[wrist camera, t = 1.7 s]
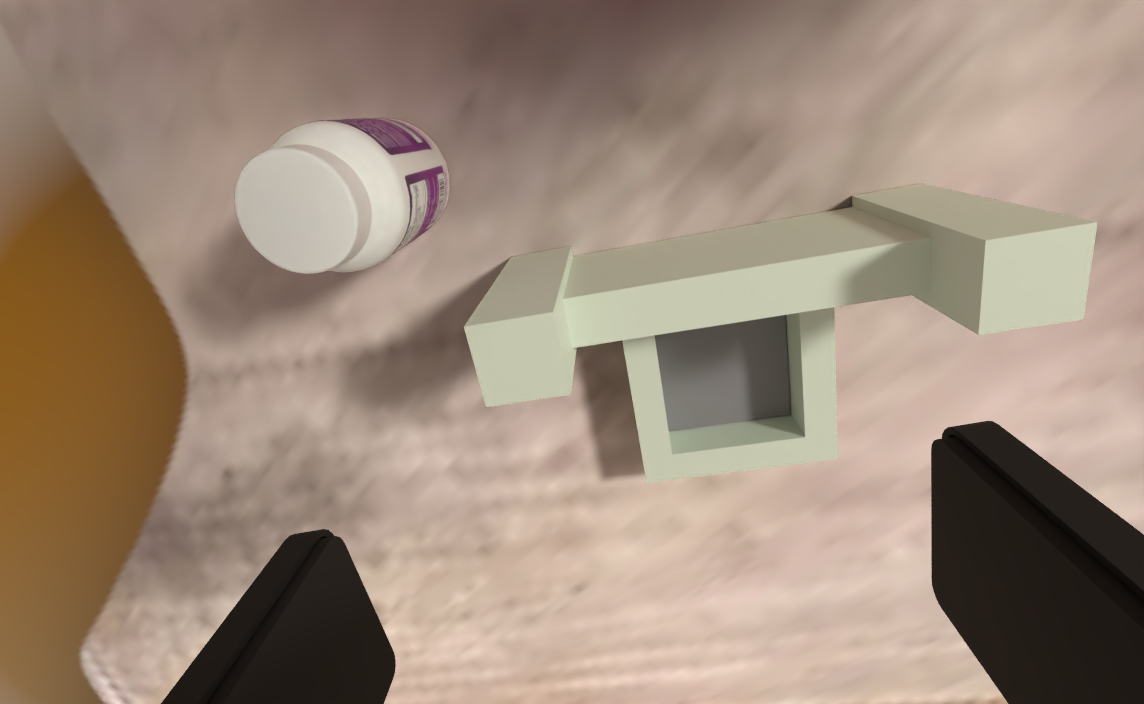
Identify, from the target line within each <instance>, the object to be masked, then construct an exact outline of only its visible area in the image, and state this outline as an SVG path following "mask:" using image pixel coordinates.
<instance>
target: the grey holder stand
mask: <svg viewBox="0 0 1144 704" xmlns="http://www.w3.org/2000/svg"><path fill="white" fill-rule="evenodd" d="M1096 229H1097V222H1095V221H1090V220H1086V219H1081V218H1077V217H1072V216H1068V215H1063V214H1059V213H1054V212H1050V211H1045V210H1041V209H1036V208H1031V207H1027V206H1022V205H1018V204H1013V203H1009V202H1004V201H1000V200H995V199H991V198H986V197H982V196H977V195H972V194H968V193H963V192H959V191H954V190H950V189H945V188H941V187H936V186H932V185H927V184H923V183H921V184H916V185H910V186H904V187H899V188H893V189H888V190H882V191H876V192H871V193H865V194H860V195H854V196H852V207H849V208H843V209H838V210H832V211H826V212H821V213H815V214H809V215H804V216H798V217H792V218H787V219H781V220H775V221H770V222H764V223H759V224H753V225H747V226H742V227H736V228H730V229H725V230H719V231H713V232H708V233H702V234H696V235H691V236H685V237H679V238H674V239H668V240H662V241H657V242H651V243H645V244H640V245H634V246H628V247H623V248H617V249H611V250H606V251H600V252H594V253H589V254H583V255H578V256H573V253H572V247H571V246H569V247H564V248H558V249H553V250H547V251H542V252H536V253H530V254H525V255H519V256H514V257H511V258H510V259H509V261H508V262H507V264H506V265H505V267H504V268H503V270H502V271H501V272H500V274H499V275H498V277H497V278H496V280H495V281H494V283H493V284H492V286H491V287H490V289H489V290H488V292H487V293H486V295H485V296H484V298H483V299H482V301H481V302H480V303H479V305H478V306H477V308H476V309H475V311H474V312H473V314H472V315H471V317H470V318H469V320H468V321H467V323H466V324H465V326H464V330H465V333H466V337H467V341H468V344H469V348H470V351H471V355H472V359H473V362H474V366H475V369H476V373H477V377H478V380H479V384H480V387H481V391H482V395H483V398H484V402H485V405H486V407H490V406H496V405H503V404H510V403H517V402H524V401H531V400H537V399H544V398H551V397H558V396H565V395H571V389H572V381H573V373H574V366H575V358H576V351H577V347H583V346H590V345H596V344H602V343H609V342H615V341H622V342H623V348H624V354H625V360H626V365H627V371H628V377H629V383H630V389H631V395H632V401H633V407H634V412H635V418H636V424H637V430H638V436H639V442H640V448H641V454H642V459H643V465H644V471H645V477H646V483H651V482H659V481H667V480H675V479H683V478H691V477H699V476H707V475H715V474H723V473H731V472H739V471H747V470H755V469H763V468H771V467H779V466H787V465H795V464H803V463H811V462H819V461H827V460H835V459H838V451H837V408H836V365H835V322H834V307H839V306H845V305H851V304H858V303H864V302H871V301H877V300H883V299H890V298H896V297H903V296H909V295H912V296H914V297H916V298H917V299H919V300H921V301H922V302H924V303H926V304H928V305H929V306H931V307H933V308H934V309H936V310H938V311H939V312H941V313H943V314H944V315H946V316H948V317H949V318H951V319H953V320H954V321H956V322H958V323H959V324H961V325H963V326H964V327H966V328H968V329H970V330H971V331H973V332H975V333H976V334H978V335H981V334H988V333H995V332H1002V331H1008V330H1015V329H1022V328H1029V327H1036V326H1043V325H1049V324H1056V323H1063V322H1070V321H1077V320H1083V318H1084V311H1085V304H1086V298H1087V291H1088V284H1089V277H1090V270H1091V263H1092V257H1093V250H1094V243H1095V236H1096Z"/></svg>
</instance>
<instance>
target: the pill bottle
mask: <svg viewBox="0 0 1144 704" xmlns="http://www.w3.org/2000/svg"><path fill="white" fill-rule="evenodd" d="M449 192H450V190H449V174H448V169H447V164H446V162H445V160H444V158H443V156H442V154H441V152H440V150H439V148H438V147H437V146H436V144H435V143H434V142H433V141H432V140H431V138H429V137H428V136H427V135H426V134H425V133H424V132H422V131H421V130H420V129H419V128H417V127H415V126H413V125H411V124H409V123H407V122H404V121H400V120H396V119H386V118H385V119H384V118H372V119H347V120H332V121H330V120H326V121H323V120H321V121H315V122H310V123H307V124H303V125H300V126H297V127H295V128H293V129H291V130H289V131H288V132H286V133H285V134H284V135H282V136H281V137H280V138H279V139H278V140H277V141H276V142H275V143H274V144H273V146H272V147H271V148H270V150H268V151H265V152H263V153H261V154H259V155H257V156H255V157H254V158H253V159H251V160H250V161H249V162H248V163H247V165H246V166H245V167H244V168H243V170H242V171H241V173H240V175H239V178H238V180H237V184H236V188H235V194H234V200H235V210H236V215H237V218H238V221H239V224H240V226H241V229H242V231H243V232H244V234H245V236H246V238H247V239H248V241H249V242H250V243H251V245H252V246H253V247H254V248H255V249H256V250H257V251H258V252H259V253H260V254H261V255H262V256H263V257H264V258H266V259H267V260H268V261H270V262H271V263H273V264H275V265H277V266H278V267H281V268H283V269H286V270H288V271H292V272H296V273H303V274H314V273H321V272H324V271H334V272H355V271H360V270H364V269H367V268H370V267H372V266H374V265H378V264H379V263H381V262H382V261H384V260H385V259H387V258H388V257H389V256H390V255H392V254H393V253H395V252H396V251H398V250H399V249H401V248H402V247H404V246H405V245H407V244H408V243H410V242H411V241H413V240H414V239H416V238H417V237H418V236H420V235H421V234H423V233H424V232H425V231H427V230H428V229H429V228H431V227H432V226H433V225H434V224H435V223H436V222H437V221H438V219H439V218H440V216H441V215H442V213H443V211H444V210H445V207H446V205H447V202H448V197H449Z"/></svg>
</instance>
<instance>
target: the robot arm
mask: <svg viewBox="0 0 1144 704" xmlns="http://www.w3.org/2000/svg"><path fill="white" fill-rule="evenodd" d="M931 482H932V586H933V590H934V593H935V596H936V598H937V601H938V603H939V605H940V606H941V608H942V610H943V611H944V612H945V614H946V615H947V617H948V618H949V619H950V621H951V622H952V624H953V625H954V627H955V628H956V629H957V631H958V632H959V634H960V635H961V637H962V638H963V639H964V641H965V642H966V644H967V645H968V647H969V648H970V649H971V651H972V652H973V654H974V655H975V656H976V658H977V659H978V661H979V662H980V664H981V665H982V666H983V668H984V669H985V671H986V672H987V674H988V675H989V676H990V678H991V679H992V681H993V682H994V684H995V685H996V686H997V688H998V689H999V691H1000V692H1001V694H1002V695H1003V696H1004V698H1005V699H1006V701H1007V702H1008V703H1009V704H1144V535H1143V534H1142V533H1141V532H1139V531H1138V530H1137V529H1135V528H1134V527H1133V526H1132V525H1130V524H1129V523H1128V522H1126V521H1125V520H1124V519H1122V518H1121V517H1120V516H1118V515H1117V514H1116V513H1114V512H1113V511H1112V510H1110V509H1109V508H1108V507H1106V506H1105V505H1104V504H1103V503H1101V502H1100V501H1099V500H1097V499H1096V498H1095V497H1093V496H1092V495H1091V494H1089V493H1088V492H1087V491H1085V490H1084V489H1083V488H1081V487H1080V486H1079V485H1077V484H1076V483H1075V482H1073V481H1072V480H1071V479H1070V478H1068V477H1067V476H1066V475H1064V474H1063V473H1062V472H1060V471H1059V470H1058V469H1056V468H1055V467H1054V466H1052V465H1051V464H1050V463H1048V462H1047V461H1046V460H1044V459H1043V458H1042V457H1040V456H1039V455H1038V454H1037V453H1035V452H1034V451H1033V450H1031V449H1030V448H1029V447H1027V446H1026V445H1025V444H1023V443H1022V442H1021V441H1019V440H1018V439H1017V438H1015V437H1014V436H1013V435H1011V434H1010V433H1009V432H1007V431H1006V430H1005V429H1004V428H1002V427H1001V426H1000V425H998V424H996V423H994V422H993V421H985V422H979V423H972V424H966V425H960V426H954V427H948V428H947V429H945V430H944V432H943V434H942V439H937V440H935V441H934V442H933V444H932V449H931ZM394 673H395V655H394V652H393V649H392V647H391V645H390V643H389V640H388V638H387V636H386V634H385V632H384V629H383V627H382V625H381V623H380V620H379V618H378V616H377V614H376V612H375V609H374V607H373V605H372V603H371V601H370V598H369V596H368V594H367V592H366V590H365V587H364V585H363V583H362V581H361V578H360V576H359V574H358V572H357V570H356V567H355V565H354V563H353V561H352V559H351V556H350V554H349V552H348V550H347V548H346V545H345V543H344V542H343V540H342V539H341V538H340V537H337V536H334V535H333V533H331V532H330V531H329V530H325V529H322V530H316V531H310V532H304V533H298V534H293V535H291V536H289V537H288V538H287V539H286V540H285V541H284V542H283V544H282V545H281V546H280V548H279V549H278V550H277V552H276V553H275V554H274V556H273V557H272V558H271V559H270V561H269V562H268V563H267V565H266V566H265V567H264V569H263V570H262V571H261V573H260V574H259V575H258V577H257V578H256V579H255V581H254V582H253V583H252V585H251V586H250V587H249V588H248V590H247V591H246V592H245V594H244V595H243V596H242V598H241V599H240V600H239V602H238V603H237V604H236V606H235V607H234V608H233V610H232V611H231V612H230V613H229V615H228V616H227V617H226V619H225V620H224V621H223V623H222V624H221V625H220V627H219V628H218V629H217V631H216V632H215V633H214V635H213V636H212V637H211V639H210V640H209V641H208V642H207V644H206V645H205V646H204V648H203V649H202V650H201V652H200V653H199V654H198V656H197V657H196V658H195V660H194V661H193V662H192V664H191V665H190V666H189V668H188V669H187V670H186V671H185V673H184V674H183V675H182V677H181V678H180V679H179V681H178V682H177V683H176V685H175V686H174V687H173V689H172V690H171V691H170V693H169V694H168V695H167V696H166V698H165V699H164V700H163V702H162V703H161V704H384V701H385V699H386V696H387V693H388V691H389V688H390V685H391V683H392V680H393V677H394Z"/></svg>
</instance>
